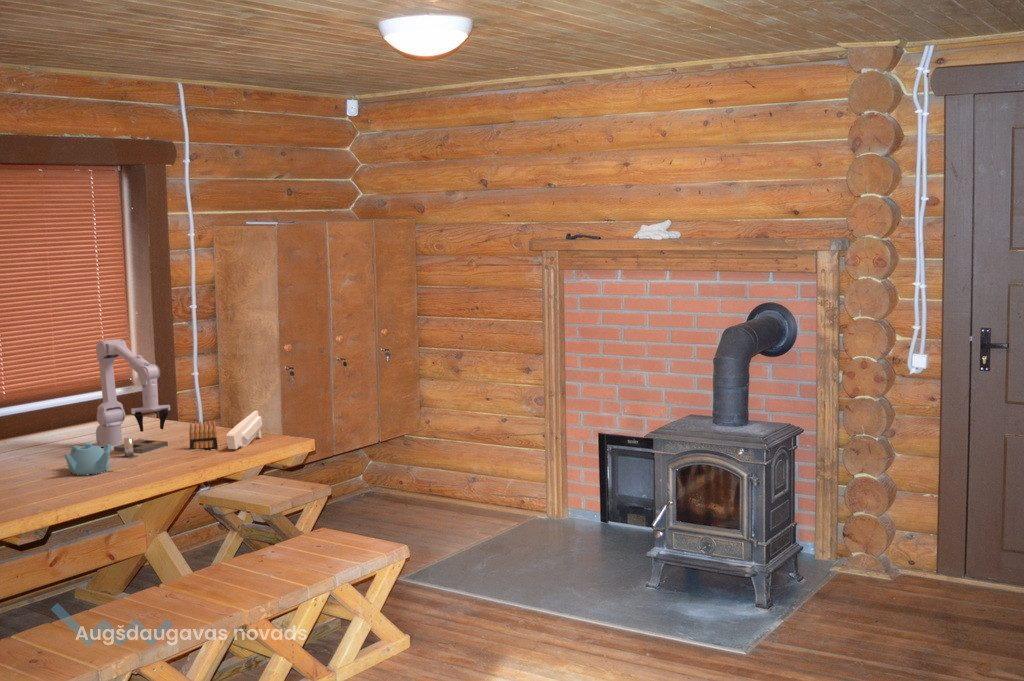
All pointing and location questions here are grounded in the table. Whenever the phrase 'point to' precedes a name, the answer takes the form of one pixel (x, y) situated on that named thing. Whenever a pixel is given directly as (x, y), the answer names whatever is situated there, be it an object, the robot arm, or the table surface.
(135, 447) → the plate
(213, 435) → the ammunition clip
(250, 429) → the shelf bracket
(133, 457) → the tab
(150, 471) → the table surface
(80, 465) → the teapot
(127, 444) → the steel peg
